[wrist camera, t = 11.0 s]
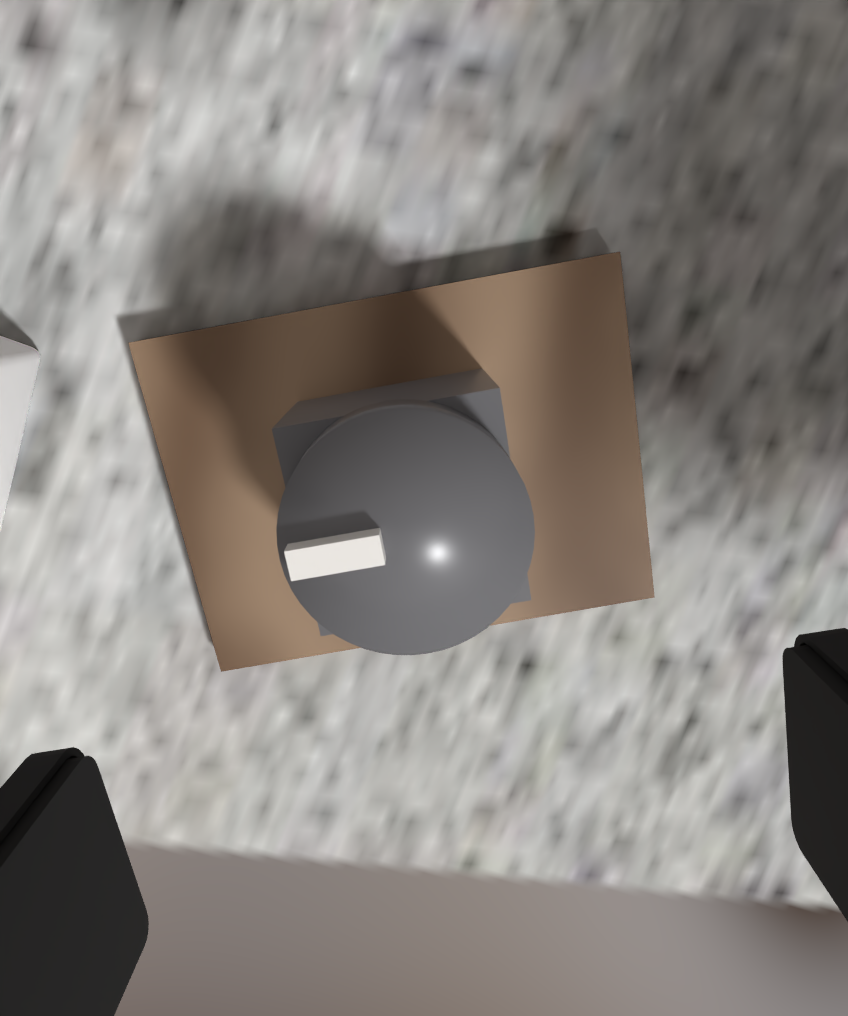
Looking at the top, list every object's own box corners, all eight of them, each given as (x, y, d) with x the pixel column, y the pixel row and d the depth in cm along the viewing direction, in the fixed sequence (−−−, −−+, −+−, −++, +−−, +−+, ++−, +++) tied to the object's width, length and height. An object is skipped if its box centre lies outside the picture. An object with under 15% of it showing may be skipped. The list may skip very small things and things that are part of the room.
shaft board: (612, 253, 25) (666, 244, 20) (646, 586, 28) (700, 655, 23) (138, 340, 26) (68, 354, 20) (227, 658, 29) (186, 742, 24)
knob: (487, 361, 25) (518, 391, 18) (515, 548, 27) (554, 642, 20) (290, 396, 25) (244, 440, 18) (331, 580, 27) (304, 685, 20)
